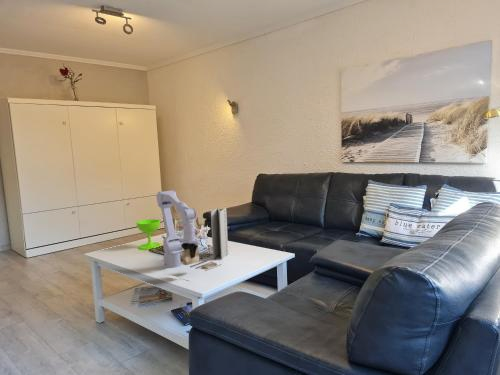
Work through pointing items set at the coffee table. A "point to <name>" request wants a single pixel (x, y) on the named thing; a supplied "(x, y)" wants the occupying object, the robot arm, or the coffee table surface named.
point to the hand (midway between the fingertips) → (190, 257)
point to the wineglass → (148, 227)
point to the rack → (203, 265)
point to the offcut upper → (209, 265)
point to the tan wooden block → (189, 257)
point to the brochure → (219, 233)
